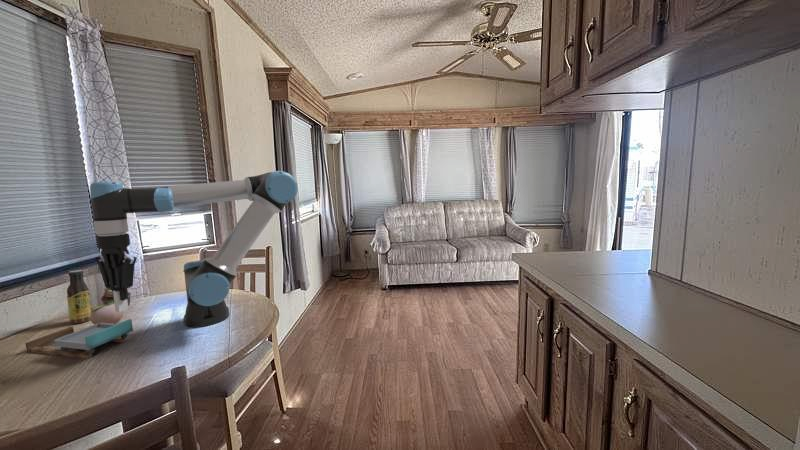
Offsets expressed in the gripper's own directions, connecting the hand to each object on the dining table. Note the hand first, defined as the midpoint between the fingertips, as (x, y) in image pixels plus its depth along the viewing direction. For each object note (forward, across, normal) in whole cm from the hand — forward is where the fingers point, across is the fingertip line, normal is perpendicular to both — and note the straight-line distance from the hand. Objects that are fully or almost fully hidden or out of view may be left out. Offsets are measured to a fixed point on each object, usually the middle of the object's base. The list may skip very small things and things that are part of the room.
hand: (122, 310), depth 100 cm
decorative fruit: (+14, +25, -13) cm, 31 cm away
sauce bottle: (+14, +43, -16) cm, 48 cm away
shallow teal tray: (+12, +13, 0) cm, 18 cm away
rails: (+14, +20, 0) cm, 24 cm away
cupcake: (+14, +44, -30) cm, 55 cm away
